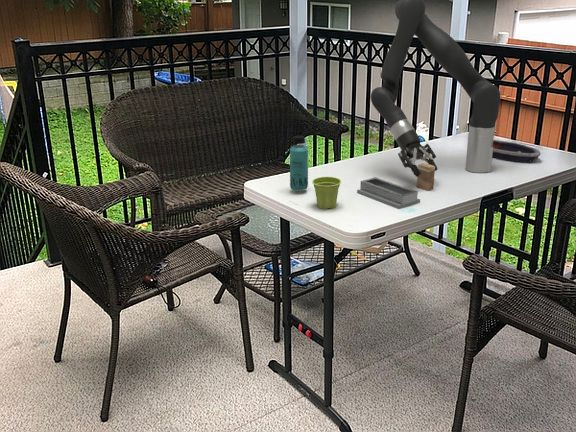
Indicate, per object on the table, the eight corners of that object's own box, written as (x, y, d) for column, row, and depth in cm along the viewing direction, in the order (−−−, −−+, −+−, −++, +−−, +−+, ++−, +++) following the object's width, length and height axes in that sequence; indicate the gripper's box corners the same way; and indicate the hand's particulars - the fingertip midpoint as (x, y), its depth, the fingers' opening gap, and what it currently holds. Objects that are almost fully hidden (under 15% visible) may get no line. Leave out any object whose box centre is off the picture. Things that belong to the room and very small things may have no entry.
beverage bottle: (289, 189, 213) (288, 134, 206) (307, 188, 214) (307, 133, 206) (290, 195, 207) (289, 139, 200) (309, 194, 208) (309, 138, 200)
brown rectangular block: (422, 185, 214) (424, 163, 211) (433, 189, 210) (435, 166, 207) (416, 187, 212) (418, 164, 209) (427, 191, 209) (429, 167, 205)
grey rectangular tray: (377, 186, 213) (378, 176, 212) (420, 202, 198) (420, 190, 197) (357, 192, 208) (357, 182, 207) (398, 209, 193) (399, 197, 191)
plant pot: (332, 213, 191) (332, 187, 188) (307, 207, 195) (306, 182, 192) (345, 204, 198) (346, 179, 195) (320, 199, 203) (321, 175, 200)
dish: (526, 167, 232) (528, 155, 230) (461, 151, 255) (462, 140, 253) (548, 160, 241) (549, 148, 239) (482, 145, 264) (484, 134, 262)
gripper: (396, 132, 206) (419, 171, 202) (424, 126, 214) (447, 163, 209) (385, 143, 212) (406, 182, 208) (412, 137, 220) (434, 174, 215)
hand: (427, 173), depth 209 cm, fingers open, 8 cm apart
